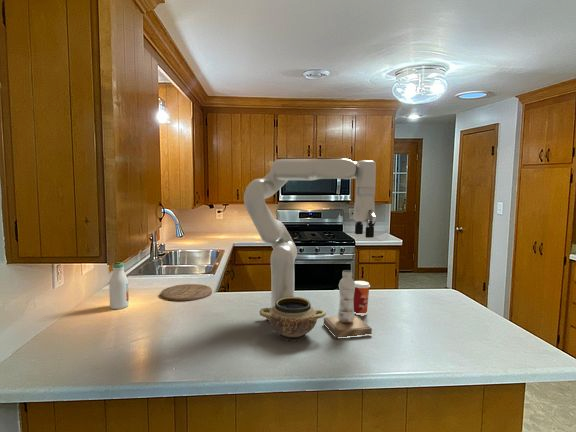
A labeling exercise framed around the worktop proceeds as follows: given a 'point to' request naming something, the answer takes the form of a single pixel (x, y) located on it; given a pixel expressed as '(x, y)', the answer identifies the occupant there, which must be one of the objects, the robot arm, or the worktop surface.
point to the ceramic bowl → (292, 317)
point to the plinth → (347, 327)
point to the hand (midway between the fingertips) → (364, 235)
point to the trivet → (186, 292)
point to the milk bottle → (118, 288)
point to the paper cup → (361, 296)
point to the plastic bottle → (346, 298)
